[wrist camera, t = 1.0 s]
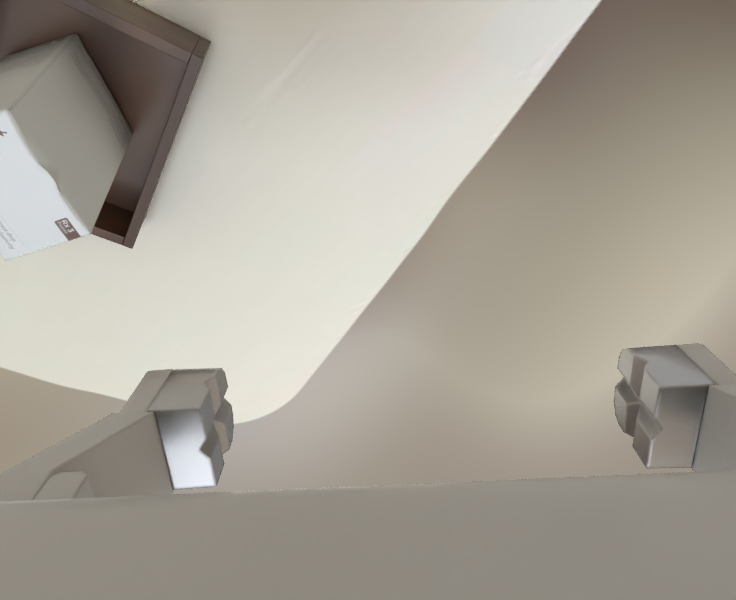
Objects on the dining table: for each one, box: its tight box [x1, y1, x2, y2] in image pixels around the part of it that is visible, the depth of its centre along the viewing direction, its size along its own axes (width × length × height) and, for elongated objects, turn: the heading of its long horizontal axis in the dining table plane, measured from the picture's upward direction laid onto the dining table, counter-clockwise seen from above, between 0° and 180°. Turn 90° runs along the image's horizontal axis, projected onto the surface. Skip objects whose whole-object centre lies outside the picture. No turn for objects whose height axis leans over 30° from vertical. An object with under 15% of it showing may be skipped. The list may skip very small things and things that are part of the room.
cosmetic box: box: [0, 34, 133, 260], centre depth 39 cm, size 8×6×15 cm
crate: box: [0, 0, 211, 248], centre depth 43 cm, size 15×17×4 cm
